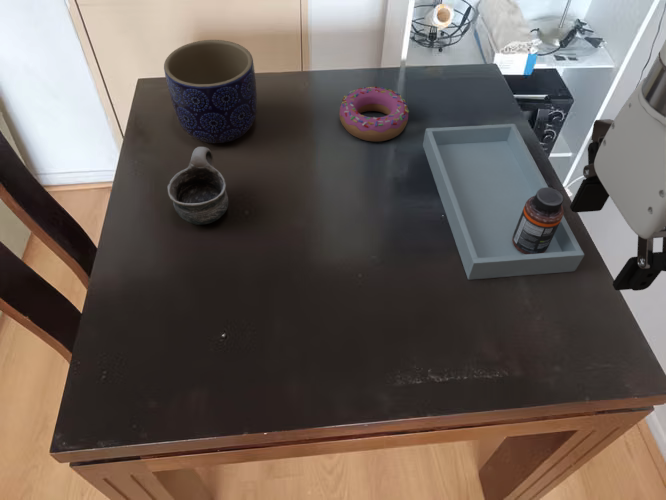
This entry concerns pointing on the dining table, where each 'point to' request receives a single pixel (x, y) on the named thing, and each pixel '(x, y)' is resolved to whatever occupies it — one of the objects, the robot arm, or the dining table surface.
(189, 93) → the planter
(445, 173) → the blue-grey tray
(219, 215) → the mug
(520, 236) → the supplement bottle
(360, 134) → the donut
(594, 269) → the dining table surface
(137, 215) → the dining table surface
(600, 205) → the robot arm
